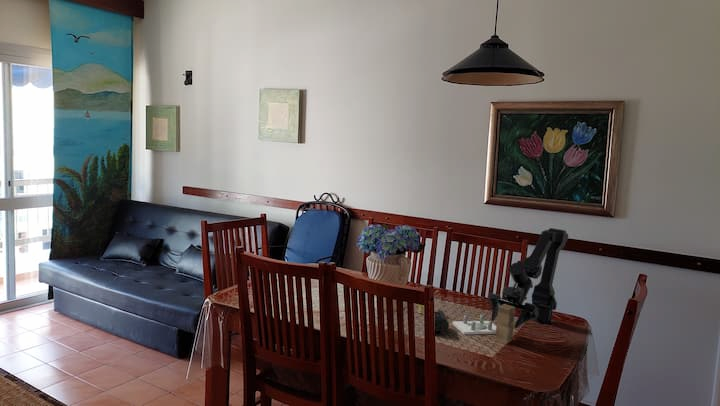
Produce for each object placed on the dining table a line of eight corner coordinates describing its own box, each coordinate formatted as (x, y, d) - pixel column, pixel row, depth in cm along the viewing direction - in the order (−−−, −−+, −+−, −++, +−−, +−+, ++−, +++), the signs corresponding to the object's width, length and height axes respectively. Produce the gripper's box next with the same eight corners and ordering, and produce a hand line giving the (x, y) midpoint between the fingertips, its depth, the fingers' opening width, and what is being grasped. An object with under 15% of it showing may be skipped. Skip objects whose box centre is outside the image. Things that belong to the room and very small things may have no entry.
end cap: (448, 336, 187) (449, 319, 186) (429, 335, 187) (430, 317, 187) (444, 326, 197) (446, 310, 196) (426, 325, 197) (427, 308, 197)
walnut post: (501, 337, 190) (504, 303, 188) (512, 340, 186) (515, 307, 185) (495, 340, 186) (498, 306, 185) (506, 343, 183) (509, 309, 182)
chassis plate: (489, 323, 204) (490, 313, 204) (502, 333, 193) (503, 323, 193) (452, 323, 201) (453, 314, 200) (463, 334, 190) (464, 324, 189)
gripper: (492, 272, 193) (474, 305, 186) (538, 283, 180) (521, 319, 173) (500, 288, 199) (483, 321, 193) (545, 300, 187) (529, 336, 180)
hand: (503, 324), depth 185 cm, fingers open, 9 cm apart
